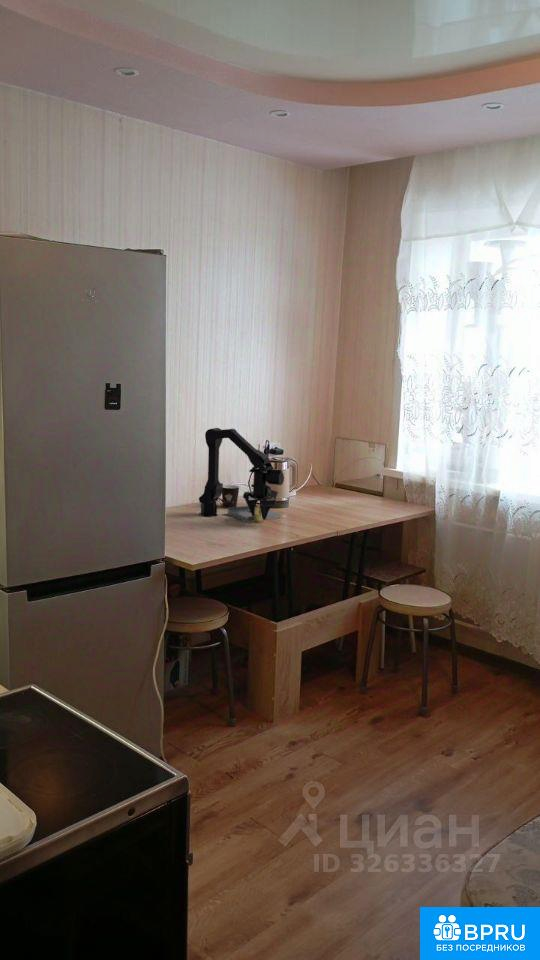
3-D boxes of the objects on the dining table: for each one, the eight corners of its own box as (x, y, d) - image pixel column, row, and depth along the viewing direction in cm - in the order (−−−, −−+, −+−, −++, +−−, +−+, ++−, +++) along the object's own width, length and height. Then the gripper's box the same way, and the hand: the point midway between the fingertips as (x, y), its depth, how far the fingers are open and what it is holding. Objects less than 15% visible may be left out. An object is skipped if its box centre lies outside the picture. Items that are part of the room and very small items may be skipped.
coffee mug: (242, 507, 376) (242, 486, 374) (231, 509, 368) (232, 489, 367) (222, 503, 382) (223, 483, 380) (212, 506, 374) (212, 485, 373)
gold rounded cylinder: (257, 523, 342) (257, 507, 341) (252, 521, 346) (252, 506, 345) (264, 522, 345) (265, 507, 343) (260, 520, 348) (260, 505, 347)
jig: (245, 521, 345) (245, 514, 344) (227, 514, 358) (228, 507, 358) (279, 518, 355) (279, 511, 354) (261, 511, 368) (261, 504, 367)
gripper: (287, 485, 339) (285, 520, 341) (264, 478, 354) (263, 511, 357) (265, 486, 333) (263, 522, 335) (243, 479, 348) (242, 513, 351)
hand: (258, 517), depth 345 cm, fingers open, 9 cm apart
